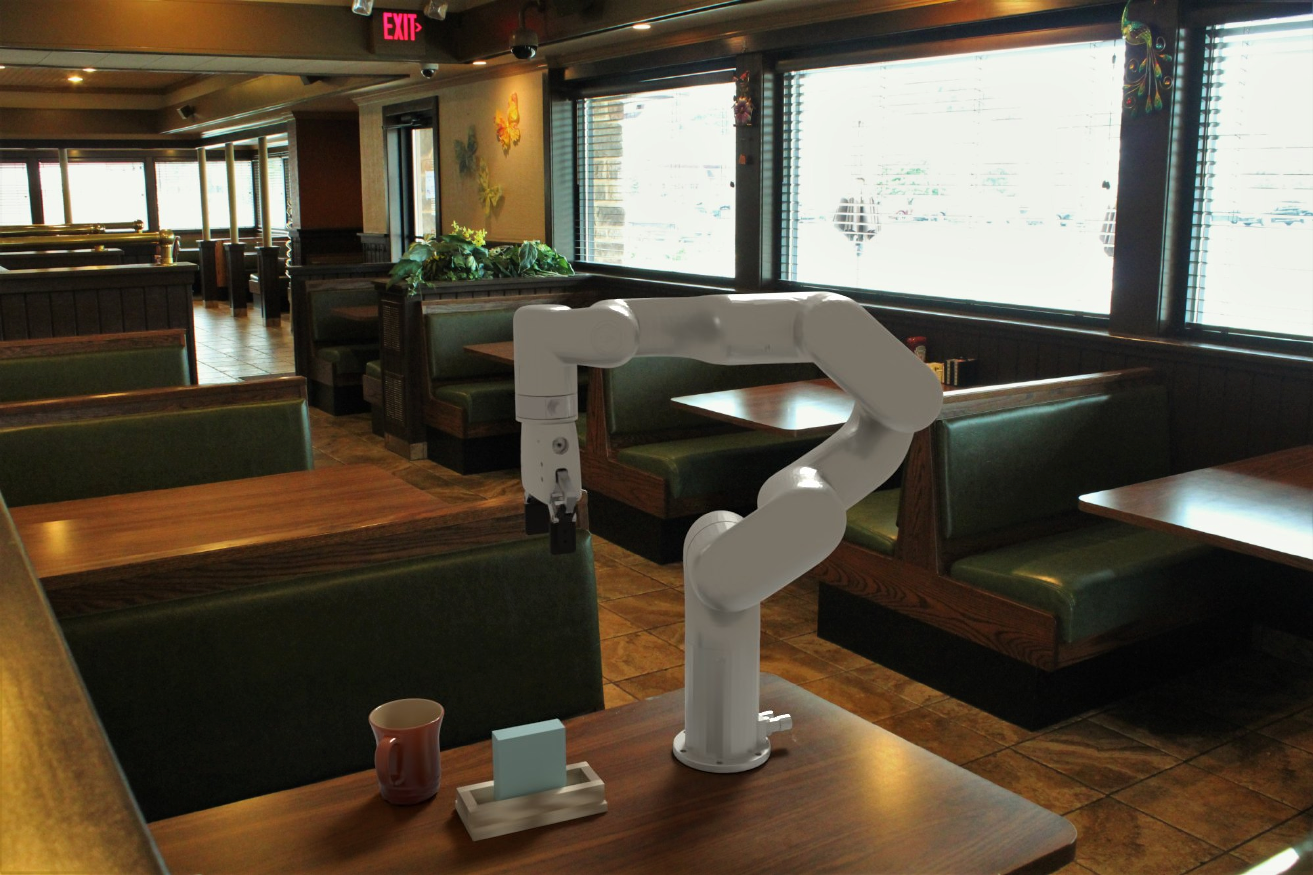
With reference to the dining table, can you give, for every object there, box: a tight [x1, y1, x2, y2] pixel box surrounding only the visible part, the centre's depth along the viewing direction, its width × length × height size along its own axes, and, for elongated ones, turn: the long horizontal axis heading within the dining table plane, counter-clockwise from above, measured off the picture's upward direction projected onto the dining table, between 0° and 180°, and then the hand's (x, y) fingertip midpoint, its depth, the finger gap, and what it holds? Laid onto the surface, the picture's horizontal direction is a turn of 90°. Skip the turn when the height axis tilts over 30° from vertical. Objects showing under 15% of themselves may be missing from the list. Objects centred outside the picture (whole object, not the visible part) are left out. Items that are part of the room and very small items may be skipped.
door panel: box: [491, 718, 567, 802], centre depth 131 cm, size 8×3×9 cm, turn 114°
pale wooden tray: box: [454, 761, 609, 842], centre depth 132 cm, size 16×8×3 cm, turn 114°
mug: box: [368, 698, 445, 806], centre depth 134 cm, size 12×9×10 cm
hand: (549, 543), depth 141 cm, fingers open, 9 cm apart
